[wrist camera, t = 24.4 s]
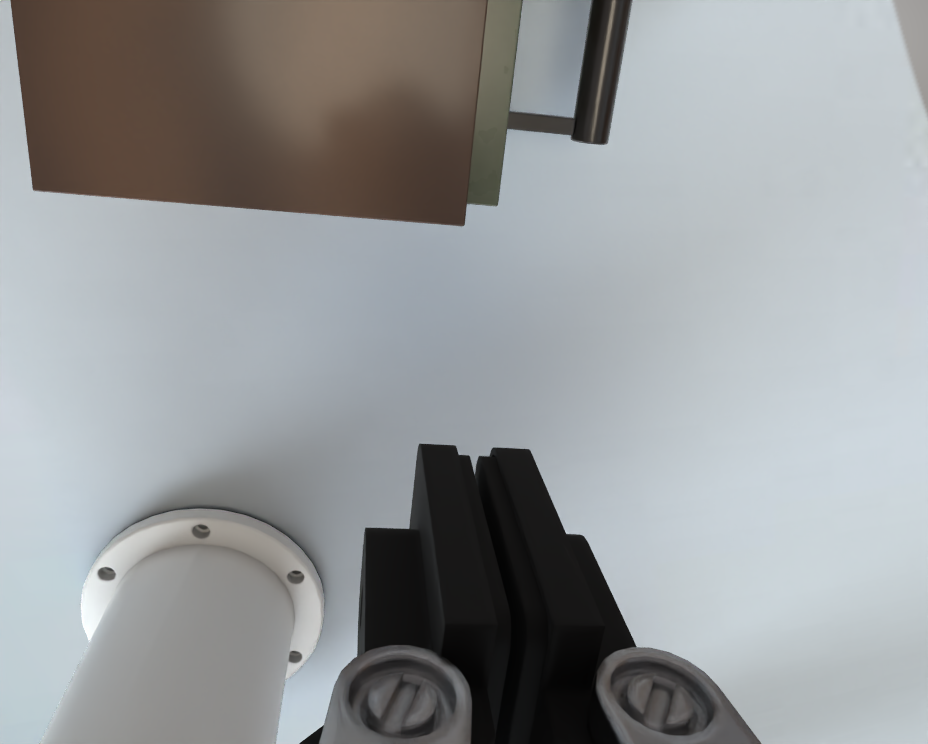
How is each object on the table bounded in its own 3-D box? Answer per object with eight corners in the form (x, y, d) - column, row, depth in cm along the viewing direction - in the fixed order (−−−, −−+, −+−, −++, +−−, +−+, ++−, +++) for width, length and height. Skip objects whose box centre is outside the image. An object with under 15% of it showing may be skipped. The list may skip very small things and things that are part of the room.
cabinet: (474, -152, 28) (512, -236, 20) (443, 183, 33) (464, 226, 25) (99, -209, 27) (-29, -327, 18) (124, 154, 31) (32, 191, 23)
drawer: (616, -118, 29) (688, -169, 22) (569, 183, 33) (617, 217, 26) (160, -186, 26) (85, -267, 20) (175, 147, 31) (118, 174, 24)
